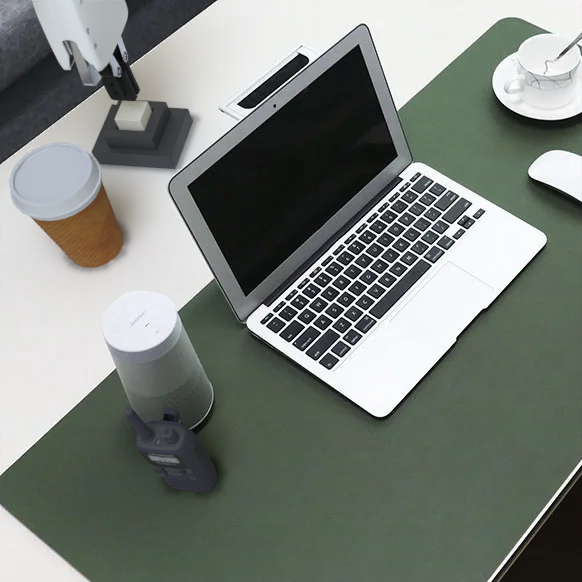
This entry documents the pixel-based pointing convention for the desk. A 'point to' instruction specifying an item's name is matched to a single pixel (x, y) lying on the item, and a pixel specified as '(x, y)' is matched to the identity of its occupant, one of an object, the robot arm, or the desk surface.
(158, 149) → the key block
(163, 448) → the two-way radio
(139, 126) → the key
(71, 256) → the disposable coffee cup
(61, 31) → the robot arm
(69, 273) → the desk surface
